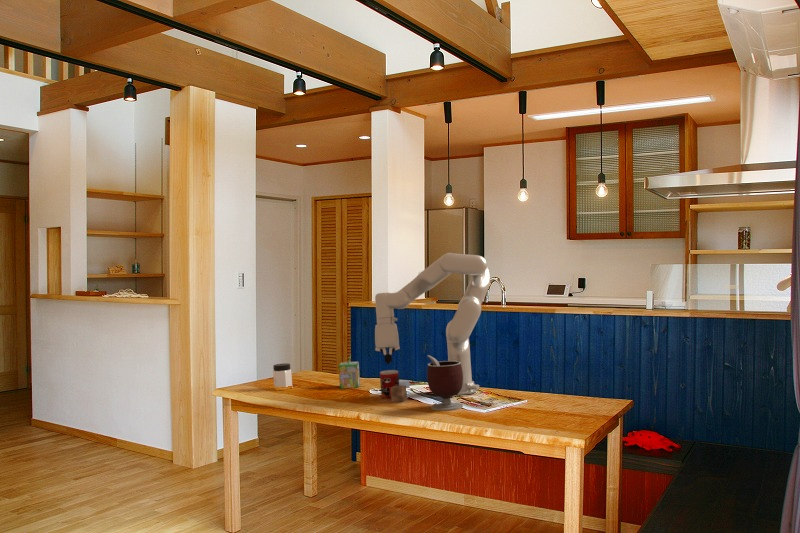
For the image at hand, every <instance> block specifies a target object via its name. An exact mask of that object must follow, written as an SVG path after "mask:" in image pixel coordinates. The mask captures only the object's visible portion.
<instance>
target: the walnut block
mask: <svg viewBox="0 0 800 533" xmlns="http://www.w3.org/2000/svg"><path fill="white" fill-rule="evenodd" d="M407 393H408V392H407V391H406V386H393V387H391V399H390V400H391V403H404V402H406V401H408V397H407V396H408V394H407Z"/></svg>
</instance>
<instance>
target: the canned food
mask: <svg viewBox="0 0 800 533" xmlns="http://www.w3.org/2000/svg"><path fill="white" fill-rule="evenodd" d="M399 380H400V377H399V370H396V369H388V370H387V369H386V370H382V371H379V381H380V394H381V398H382V399H390V400H392V399H391V387H393V386H399Z"/></svg>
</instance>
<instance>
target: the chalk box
mask: <svg viewBox="0 0 800 533" xmlns="http://www.w3.org/2000/svg"><path fill="white" fill-rule="evenodd" d="M351 356H352V355H350V356H349V357H348V361H341V362H339V364H338V377H339V389H340V390H341V389H345V390H346V389H359V387H360V385H361V379H360V362H359V361H351Z"/></svg>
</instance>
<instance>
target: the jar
mask: <svg viewBox="0 0 800 533" xmlns="http://www.w3.org/2000/svg"><path fill="white" fill-rule="evenodd" d="M272 369H273V370H272V374H273V387H274V386H275V387H288V386H292V387H293V376H292V369H291V364H290V363H287V362H286V363H275V364H274V365H273V368H272Z"/></svg>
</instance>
